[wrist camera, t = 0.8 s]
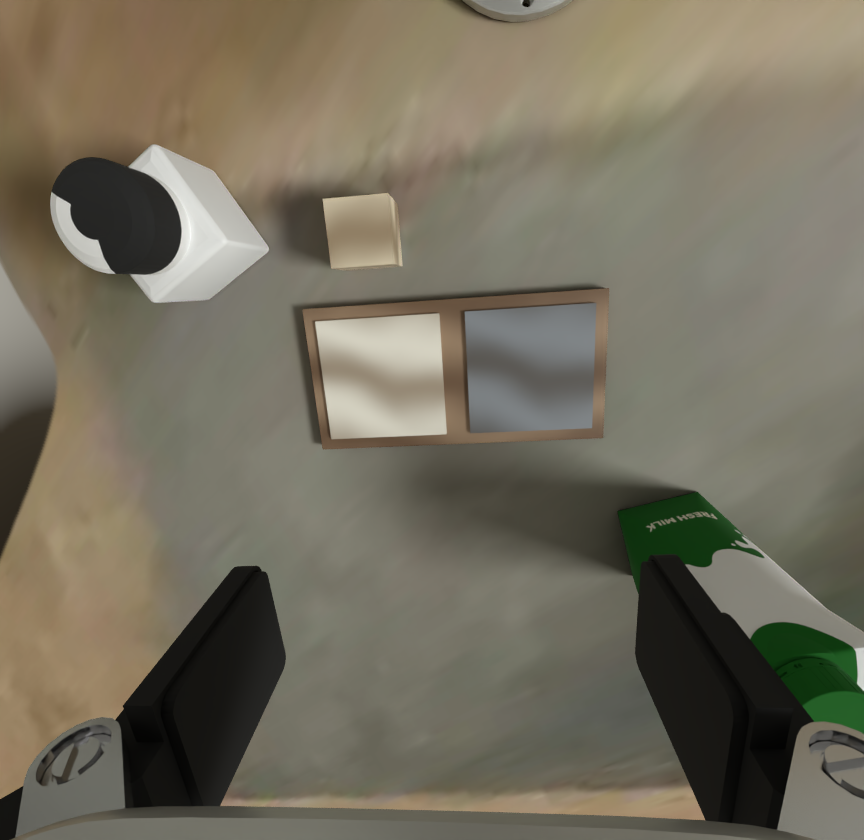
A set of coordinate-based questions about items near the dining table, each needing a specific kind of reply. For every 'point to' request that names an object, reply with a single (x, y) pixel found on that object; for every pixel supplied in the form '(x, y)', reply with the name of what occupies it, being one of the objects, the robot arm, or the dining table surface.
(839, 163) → the dining table surface
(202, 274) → the medicine bottle
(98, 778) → the robot arm
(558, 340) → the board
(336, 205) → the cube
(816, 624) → the fresh milk carton
